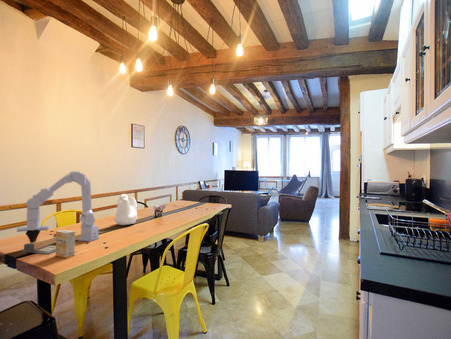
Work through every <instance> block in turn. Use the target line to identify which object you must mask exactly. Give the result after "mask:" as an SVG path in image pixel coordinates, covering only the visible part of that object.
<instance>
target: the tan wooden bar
mask: <svg viewBox="0 0 451 339" xmlns="http://www.w3.org/2000/svg"><path fill="white" fill-rule="evenodd" d="M52 243H56V233H54V234H53V235H52V236H49V237H46V238H42V239H40V240H36V241H35V242H32V243H30V242H29V243H25V244H24V245H23V250H24V251H33V250H34V249H37V248H40V247H43V246H46V245H49V244H52Z"/></svg>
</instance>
